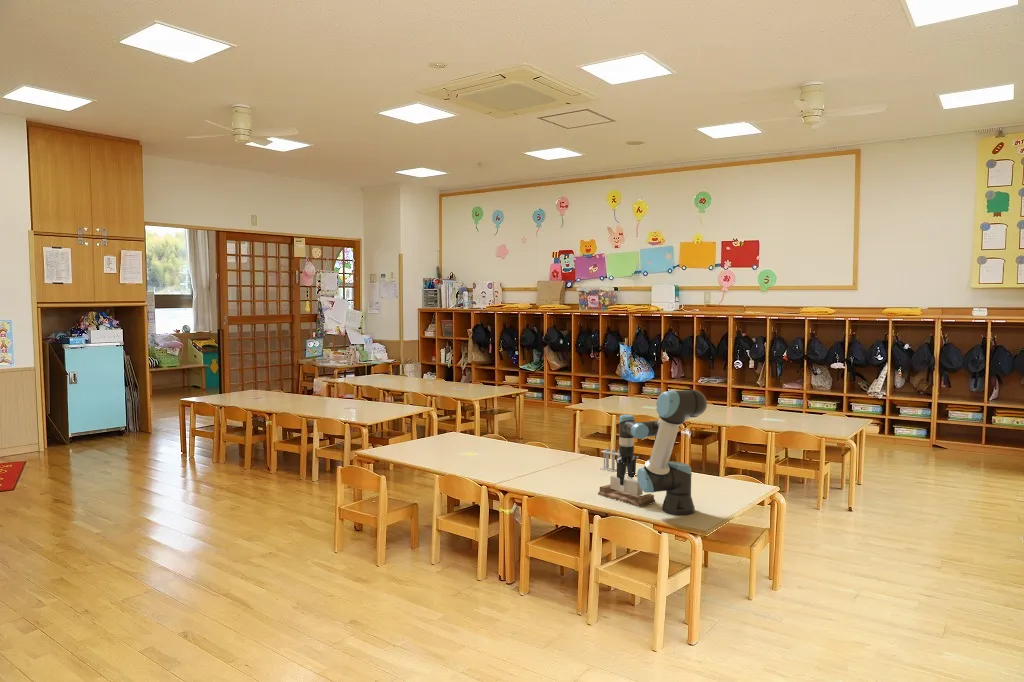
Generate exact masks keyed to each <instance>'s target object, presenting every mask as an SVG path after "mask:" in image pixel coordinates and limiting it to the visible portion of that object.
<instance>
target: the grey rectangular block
mask: <svg viewBox="0 0 1024 682" xmlns="http://www.w3.org/2000/svg"><path fill="white" fill-rule="evenodd" d="M624 479H626V481H625V493H629V494H632V495H636V496H639V495H641V496H642V495H644V494H643V492H644V491H643V490H642V489H641V488H640V486H639V483H638V480H637V479H633V478H632V479H630V478H627V476H626V477H624ZM609 485H610V488H611V489H614V490H618V491H620V478H617V474H613V475H610V483H609ZM621 492H623V491H621Z"/></svg>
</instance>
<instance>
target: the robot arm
mask: <svg viewBox="0 0 1024 682" xmlns="http://www.w3.org/2000/svg"><path fill="white" fill-rule="evenodd" d="M655 405H656V408H655V409H656V413H657V414H658V417H659V419H657V420H650V421H635V415H633V414H621V415H620V416H619V421H618V426H619V427H618V431H619V432H618V440H619V441H618V442H619V443H618V444H619V446H618V450H619V452H620V458H619V459H618V458H615V464H616V469H617V473H616V475H617V478H620V491H623V492H625V481H626V479H624V477H625V476H626V475H625V471H626V466H627V471H626V472H628V475H627V476H626V478H630V479H633V478H635V477H634V475H635V474H637V476H636V477H637V479H636V480H638V483H639V486H640V488H641V489H642V490H643V492H644V493H646V494H651V493H652V494H653V493H658V492H659V493H660V492H666V493H665V497H664V500H663V503H662V504H661V505H662V510H661V511H663V512H664V513H667V514H670V515H675V514H678V515H677V516H688V515H692V514H695V512H696V511H695V510H696V509H695V505H694V501H693V498H692V476H693V473H692V467H691V466H690V465H689V464H687V463H684V462H680V461H673V460H672V461H671V460H670V458H671V455H672V452H673V449H674V445H675V442H676V438H677V435H678V433H679V429H680V425H683V424H684V423H685V422H686V421H688V420H690V419H691V418H692V419H693V418H697V417H699V416H701V415H703V414H704V413H705V411H706V410H707V406H708V401H707V398H706V396H705V395H704V394H703V393H702V392H701V391H699V390H697V389H682V390H668V391H663V392H661V393H660V394H659V395H658V397H657V399H656V404H655ZM650 437H655V440H654V443H653V445H652V446H653V447H652V450H651V453H650V457H649V459H647V460H646V461H645V463H644V465H643V466H644V467H640V468H638V469H637V468H636V467H637V459H638V458H637V457H638V456H637V455H634V453H635V446H634V445H635V438H636V439H638V440H639V439H640V440H642V439H643V440H644V439H645V438H650ZM636 470H637V471H636ZM687 514H688V515H687Z"/></svg>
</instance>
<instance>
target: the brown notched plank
mask: <svg viewBox="0 0 1024 682" xmlns="http://www.w3.org/2000/svg"><path fill="white" fill-rule="evenodd" d="M597 495H598V496H600V497H601V496H602V497H604V496H605V498H608V499H611V498H612V499H611V500H614V499H616V500H615V501H618V500H620V501H619V502H621V501H623V502H622V503H624V502H626V503H625V504H628V503H629V504H628V505H631V504H632V506H636V507H638V506H639V508H641V507H643V505H644V506H647V505H646V504H648V505H651V504H650V503H652V504H654V503H653V502H655V503H656V499H655V494H653V493H652V494H651V493H646V494H642V495H639V496H636V495H632V494H629V493H625V492H621V491H618V490H614V489H611V488H610V484H607V485H602V486H599V491H598V493H597ZM640 506H641V507H640Z"/></svg>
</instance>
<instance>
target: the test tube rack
mask: <svg viewBox="0 0 1024 682" xmlns="http://www.w3.org/2000/svg"><path fill="white" fill-rule="evenodd" d="M600 453H603V467H600V468H599V469H600V470H601V469H602V471H606V470H607V472H610V471H612V472H611V473H615V472H617V468H616V467H615V466H616V465H615V464H616V458H615V456H617V459H619V458H620V452H619V449H618V450H617V451H616V450H615V448H612V449H611V451H610V449H609V447H605V450H601V451H600ZM610 455H611V467H610V464H609V463H610V460H609V459H610V458H609V456H610ZM638 458H639V456H637V459H638ZM626 472H628V471H627V466H626V471H625V474H628V473H626Z"/></svg>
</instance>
